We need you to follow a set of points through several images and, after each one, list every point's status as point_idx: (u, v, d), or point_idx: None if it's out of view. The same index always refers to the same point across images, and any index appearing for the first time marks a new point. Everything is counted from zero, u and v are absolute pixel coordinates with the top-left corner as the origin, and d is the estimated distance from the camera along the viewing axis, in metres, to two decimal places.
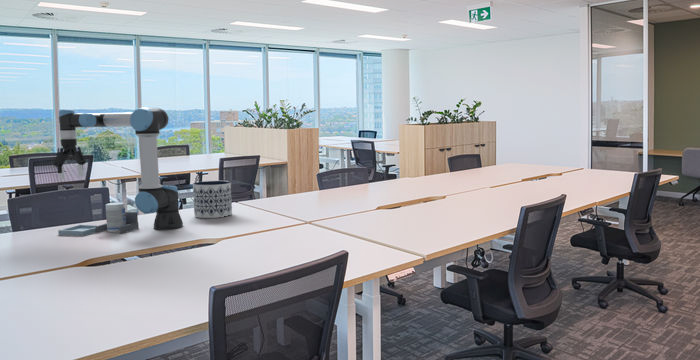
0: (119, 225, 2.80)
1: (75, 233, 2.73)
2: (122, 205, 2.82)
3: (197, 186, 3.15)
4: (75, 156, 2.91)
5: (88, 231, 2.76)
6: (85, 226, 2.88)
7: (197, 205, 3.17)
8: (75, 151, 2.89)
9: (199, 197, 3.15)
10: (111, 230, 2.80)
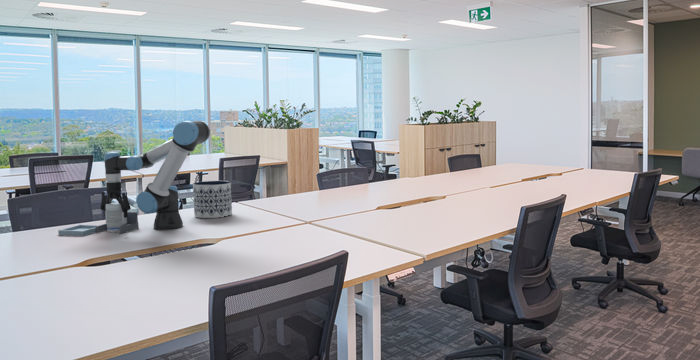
0: (119, 225, 2.80)
1: (75, 233, 2.73)
2: None
3: (197, 186, 3.15)
4: None
5: (88, 231, 2.76)
6: (85, 226, 2.88)
7: (197, 205, 3.17)
8: (116, 195, 2.80)
9: (199, 197, 3.15)
10: (111, 230, 2.80)
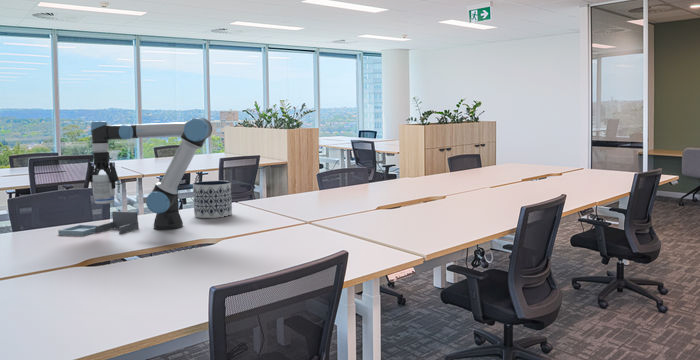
0: (107, 196, 2.71)
1: (75, 233, 2.73)
2: None
3: (197, 186, 3.15)
4: None
5: (88, 231, 2.76)
6: (85, 226, 2.88)
7: (197, 205, 3.17)
8: (103, 166, 2.71)
9: (199, 197, 3.15)
10: (98, 202, 2.70)
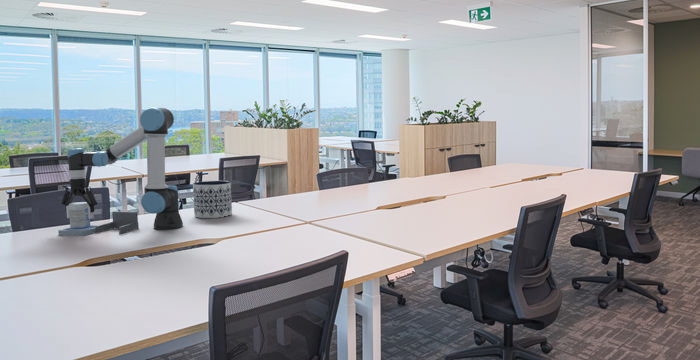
0: (82, 225, 2.77)
1: (75, 233, 2.73)
2: (85, 205, 2.78)
3: (197, 186, 3.15)
4: None
5: (88, 231, 2.76)
6: None
7: (197, 205, 3.17)
8: (79, 191, 2.77)
9: (199, 197, 3.15)
10: (74, 230, 2.76)
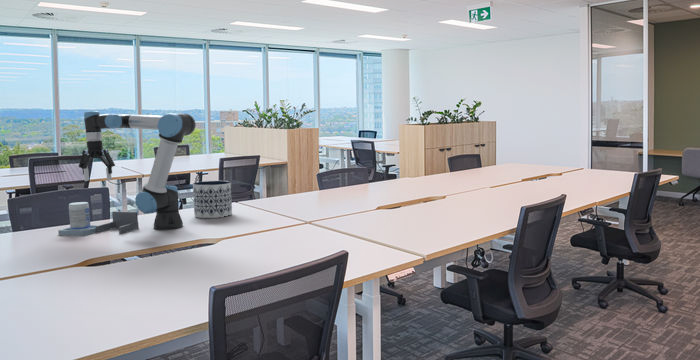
0: (82, 225, 2.77)
1: (75, 233, 2.73)
2: (85, 205, 2.78)
3: (197, 186, 3.15)
4: None
5: (88, 231, 2.76)
6: None
7: (197, 205, 3.17)
8: (97, 154, 2.81)
9: (199, 197, 3.15)
10: (74, 230, 2.76)
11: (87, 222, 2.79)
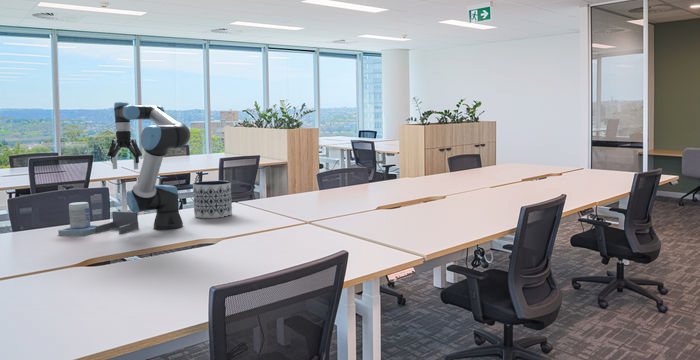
0: (82, 225, 2.77)
1: (75, 233, 2.73)
2: (85, 205, 2.78)
3: (197, 186, 3.15)
4: None
5: (88, 231, 2.76)
6: None
7: (197, 205, 3.17)
8: (125, 143, 2.91)
9: (199, 197, 3.15)
10: (74, 230, 2.76)
11: (87, 222, 2.79)
